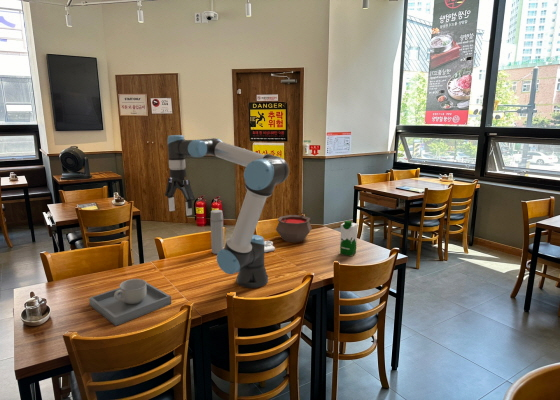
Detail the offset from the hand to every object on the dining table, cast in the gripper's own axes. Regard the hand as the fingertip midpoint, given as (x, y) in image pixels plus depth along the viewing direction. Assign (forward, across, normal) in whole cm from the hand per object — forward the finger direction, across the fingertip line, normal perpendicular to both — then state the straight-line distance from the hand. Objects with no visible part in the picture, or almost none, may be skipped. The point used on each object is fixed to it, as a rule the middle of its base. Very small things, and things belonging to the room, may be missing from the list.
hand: (180, 213), depth 180 cm
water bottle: (+33, +15, -35) cm, 51 cm away
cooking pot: (+34, -4, -84) cm, 90 cm away
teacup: (+32, -6, +32) cm, 45 cm away
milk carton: (+34, -45, -83) cm, 100 cm away
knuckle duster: (+34, 0, -55) cm, 65 cm away
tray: (+33, -6, +32) cm, 46 cm away
